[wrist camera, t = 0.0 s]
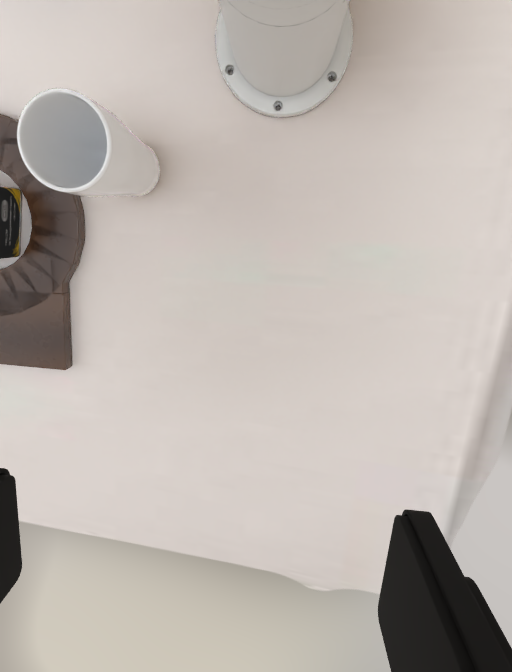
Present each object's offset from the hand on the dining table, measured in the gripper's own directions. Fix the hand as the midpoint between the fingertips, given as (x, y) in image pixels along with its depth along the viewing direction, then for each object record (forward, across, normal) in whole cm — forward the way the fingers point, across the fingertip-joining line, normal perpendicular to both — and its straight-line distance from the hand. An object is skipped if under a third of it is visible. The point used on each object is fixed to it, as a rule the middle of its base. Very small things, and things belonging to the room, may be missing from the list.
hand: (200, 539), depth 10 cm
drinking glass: (+37, +14, -12) cm, 41 cm away
